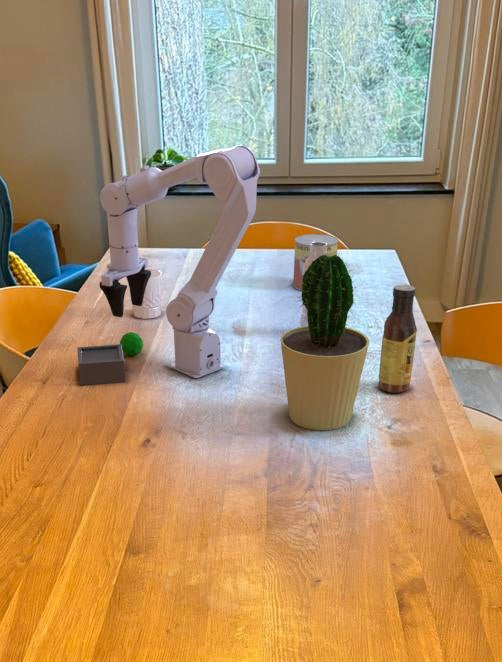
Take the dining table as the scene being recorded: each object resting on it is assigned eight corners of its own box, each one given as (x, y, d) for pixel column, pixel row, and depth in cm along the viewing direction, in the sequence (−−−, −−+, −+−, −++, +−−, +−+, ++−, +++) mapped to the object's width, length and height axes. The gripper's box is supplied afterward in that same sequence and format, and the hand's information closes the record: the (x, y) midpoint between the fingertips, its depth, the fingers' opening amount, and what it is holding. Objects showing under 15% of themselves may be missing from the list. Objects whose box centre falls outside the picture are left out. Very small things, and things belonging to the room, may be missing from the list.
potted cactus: (367, 403, 151) (382, 241, 135) (356, 440, 138) (372, 267, 122) (287, 394, 154) (293, 236, 138) (269, 429, 142) (274, 260, 126)
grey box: (122, 364, 168) (121, 344, 165) (125, 381, 160) (124, 360, 158) (79, 368, 166) (77, 347, 164) (80, 385, 159) (78, 363, 156)
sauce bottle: (409, 395, 154) (422, 294, 143) (376, 393, 155) (387, 292, 144) (409, 382, 159) (422, 283, 148) (378, 379, 160) (388, 281, 149)
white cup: (148, 322, 189) (146, 280, 184) (124, 315, 193) (121, 274, 188) (170, 313, 195) (168, 272, 189) (146, 307, 199) (143, 266, 193)
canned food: (288, 290, 209) (290, 243, 202) (297, 277, 218) (299, 232, 211) (331, 293, 206) (334, 246, 200) (338, 281, 215) (341, 235, 209)
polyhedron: (116, 356, 171) (114, 335, 169) (128, 348, 175) (127, 328, 173) (135, 360, 170) (134, 339, 167) (148, 352, 173) (146, 331, 171)
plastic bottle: (327, 328, 185) (333, 240, 174) (327, 338, 179) (333, 248, 169) (299, 327, 186) (303, 239, 175) (299, 337, 180) (303, 247, 169)
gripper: (126, 234, 167) (129, 297, 174) (86, 251, 156) (92, 317, 163) (155, 238, 164) (157, 302, 172) (116, 255, 153) (121, 323, 161)
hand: (127, 310), depth 167 cm, fingers open, 7 cm apart
